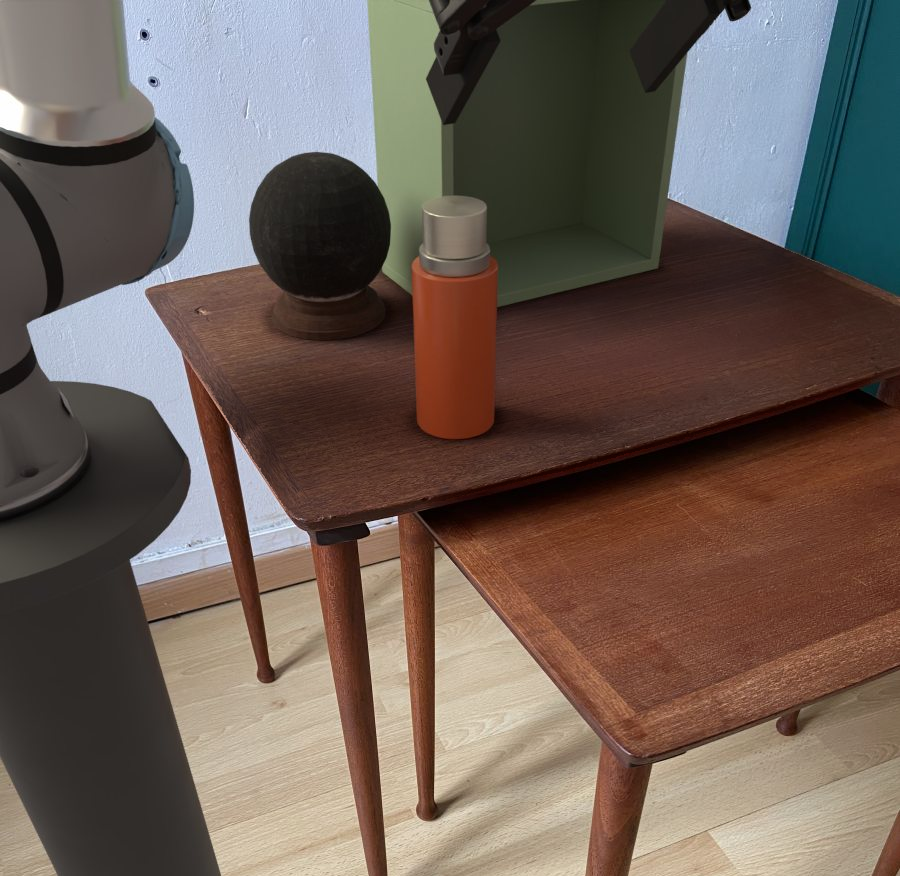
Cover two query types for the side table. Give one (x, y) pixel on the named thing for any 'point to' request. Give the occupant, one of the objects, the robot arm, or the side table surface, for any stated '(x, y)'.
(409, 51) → the cupboard
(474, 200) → the spray can
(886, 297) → the side table surface
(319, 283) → the black ball on stand
